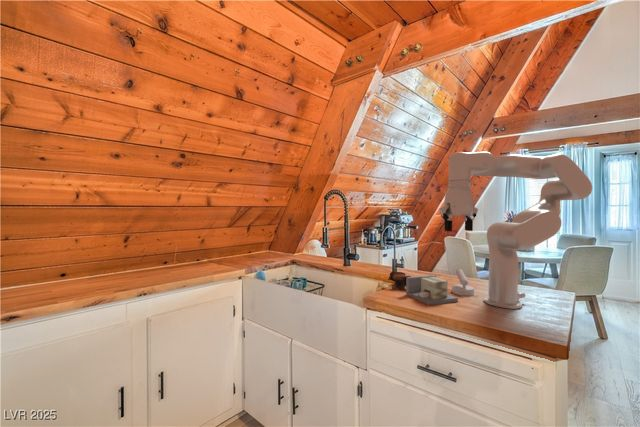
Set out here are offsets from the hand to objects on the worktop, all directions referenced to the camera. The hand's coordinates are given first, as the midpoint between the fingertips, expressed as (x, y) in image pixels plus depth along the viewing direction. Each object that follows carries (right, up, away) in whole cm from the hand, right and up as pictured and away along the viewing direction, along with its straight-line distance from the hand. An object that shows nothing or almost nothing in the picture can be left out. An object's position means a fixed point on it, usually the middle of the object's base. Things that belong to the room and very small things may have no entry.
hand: (458, 230), depth 110 cm
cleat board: (-7, -28, +9) cm, 30 cm away
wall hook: (+10, -28, +18) cm, 35 cm away
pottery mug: (-15, -28, +25) cm, 40 cm away
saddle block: (-7, -27, +7) cm, 28 cm away
